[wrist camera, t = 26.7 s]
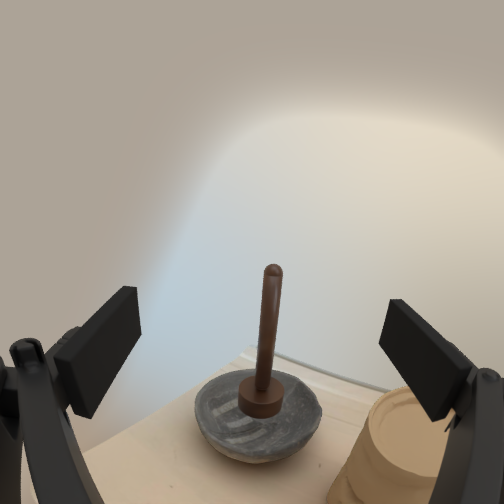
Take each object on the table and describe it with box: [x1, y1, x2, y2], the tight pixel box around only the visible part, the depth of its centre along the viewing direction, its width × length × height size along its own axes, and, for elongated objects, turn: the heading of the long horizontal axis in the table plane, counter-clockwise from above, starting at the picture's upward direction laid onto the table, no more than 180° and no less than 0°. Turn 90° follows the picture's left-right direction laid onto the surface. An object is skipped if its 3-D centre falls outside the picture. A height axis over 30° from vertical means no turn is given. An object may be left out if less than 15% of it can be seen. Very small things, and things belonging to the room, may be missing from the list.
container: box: [327, 386, 455, 504], centre depth 21 cm, size 13×13×18 cm
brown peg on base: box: [238, 264, 284, 419], centre depth 33 cm, size 6×6×20 cm
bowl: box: [195, 369, 322, 463], centre depth 37 cm, size 18×18×8 cm
